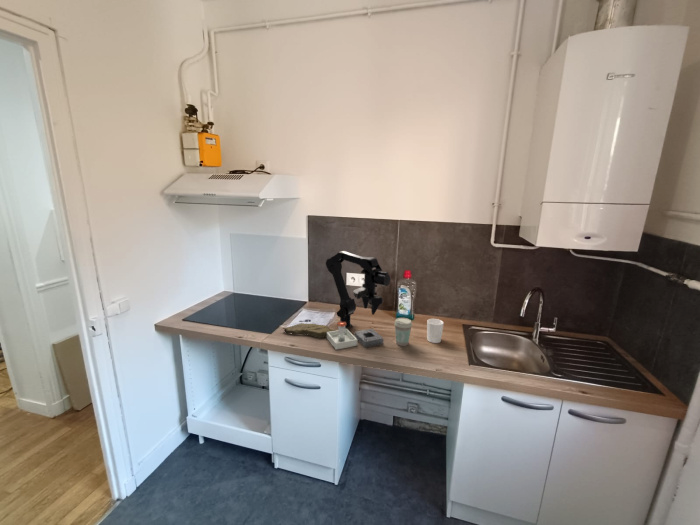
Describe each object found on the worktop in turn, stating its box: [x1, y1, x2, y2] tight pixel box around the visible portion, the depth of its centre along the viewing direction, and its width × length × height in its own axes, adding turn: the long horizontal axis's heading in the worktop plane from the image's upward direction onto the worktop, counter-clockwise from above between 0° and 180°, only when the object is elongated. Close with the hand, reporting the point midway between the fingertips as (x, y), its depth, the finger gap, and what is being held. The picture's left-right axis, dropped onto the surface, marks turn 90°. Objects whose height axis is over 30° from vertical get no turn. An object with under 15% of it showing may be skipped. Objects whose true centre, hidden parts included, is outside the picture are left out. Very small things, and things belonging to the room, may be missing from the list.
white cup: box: [426, 318, 444, 344], centre depth 154 cm, size 8×8×10 cm
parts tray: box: [326, 328, 358, 350], centre depth 152 cm, size 13×11×3 cm
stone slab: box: [282, 322, 333, 339], centre depth 162 cm, size 27×12×5 cm, turn 81°
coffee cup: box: [393, 317, 413, 347], centre depth 150 cm, size 8×9×12 cm
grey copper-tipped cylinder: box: [336, 321, 346, 342], centre depth 151 cm, size 4×4×9 cm
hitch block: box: [354, 328, 384, 348], centre depth 154 cm, size 12×10×3 cm
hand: (369, 311), depth 159 cm, fingers open, 9 cm apart
